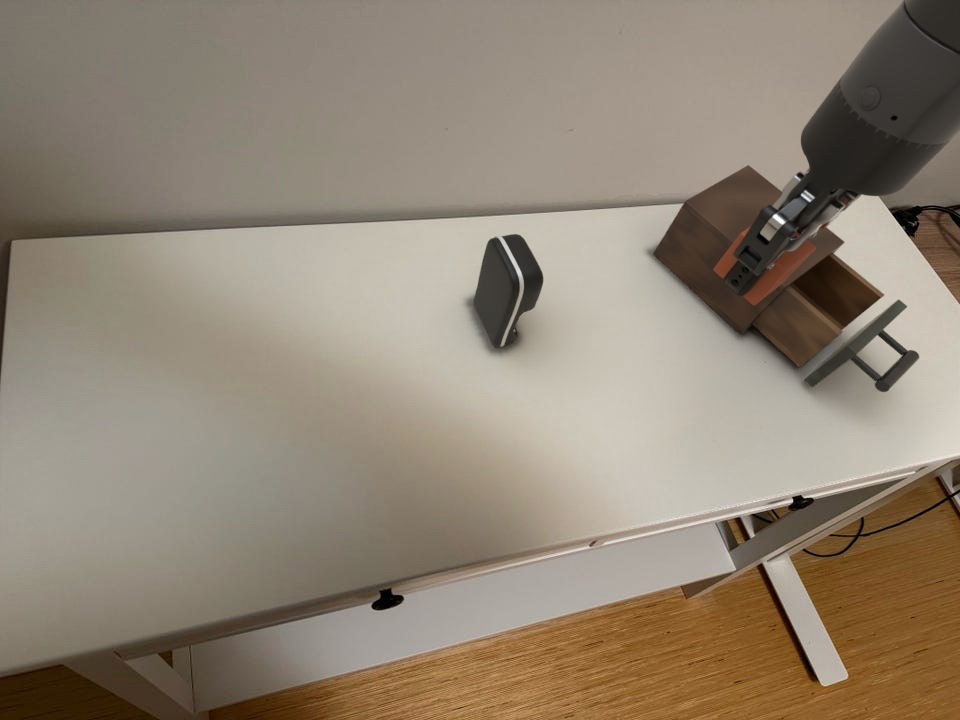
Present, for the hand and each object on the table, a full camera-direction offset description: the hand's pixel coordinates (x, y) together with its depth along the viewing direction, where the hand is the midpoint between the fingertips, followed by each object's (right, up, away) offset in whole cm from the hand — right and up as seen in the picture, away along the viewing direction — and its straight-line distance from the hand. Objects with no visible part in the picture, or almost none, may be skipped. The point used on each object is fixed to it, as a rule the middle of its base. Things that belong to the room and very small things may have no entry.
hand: (751, 274), depth 50 cm
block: (0, 0, 0) cm, 0 cm away
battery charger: (-21, -3, +15) cm, 26 cm away
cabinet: (+8, +4, +24) cm, 26 cm away
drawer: (+16, -5, +20) cm, 26 cm away
